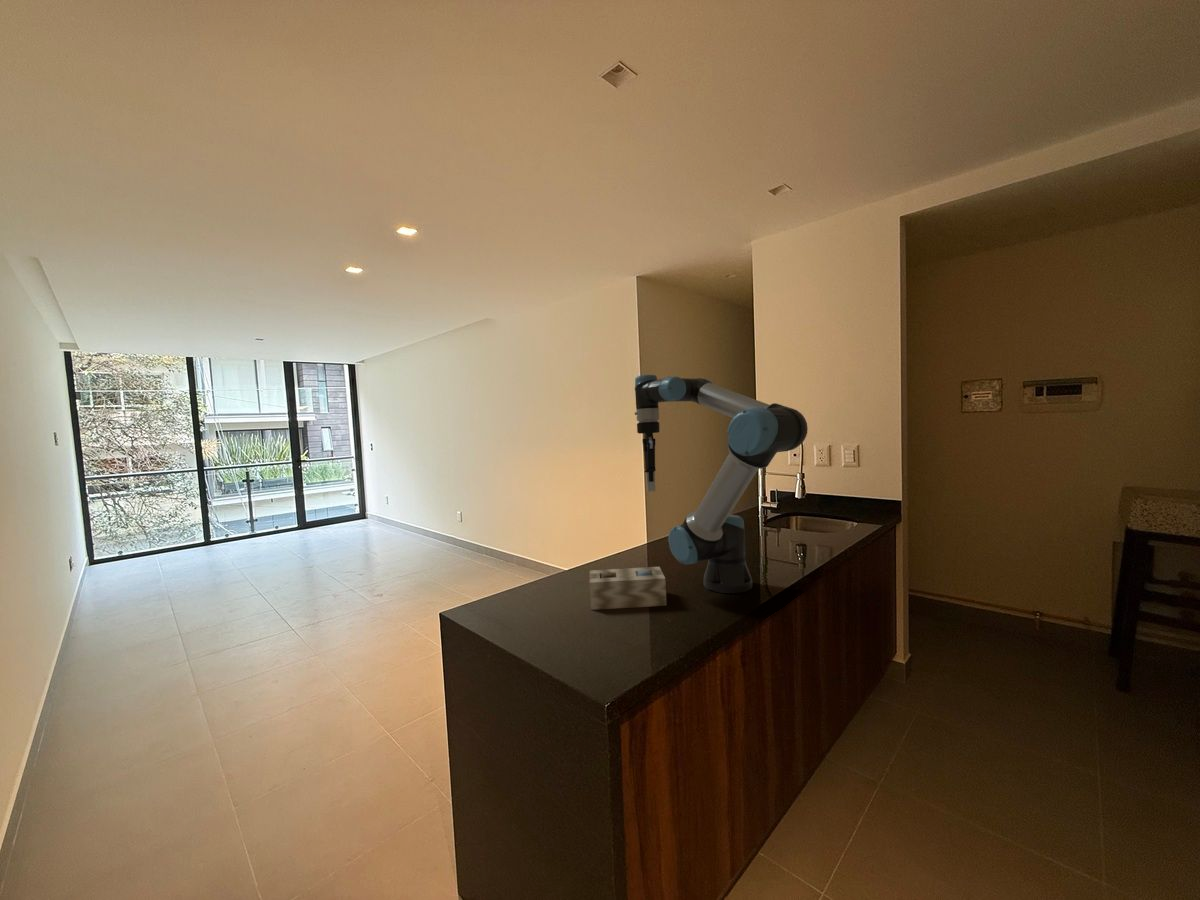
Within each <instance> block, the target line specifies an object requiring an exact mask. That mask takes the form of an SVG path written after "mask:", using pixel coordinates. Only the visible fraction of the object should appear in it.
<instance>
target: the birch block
mask: <svg viewBox="0 0 1200 900" xmlns="http://www.w3.org/2000/svg"><path fill="white" fill-rule="evenodd" d="M640 570H649V571H651V575H650V576H638V571H640ZM605 572H612V573H614V575H615V577H614V578H601V574H602V573H605ZM666 584H667V583H666V577H665V575H664V573H663V571H662V568H661V567H660V566H647V567H627V568H612V569H611V568H610V569H609V568H607V569H593V570H589V595H590V596H589V598H590V600H589V601H590V610H592V611H595V610H597V611H598V610H610V609H613V610H614V609H626V608H628V609H630V608H631V609H632V608H645V607H646V608H647V607H660V606H661V607H662V606H663V607H664V606H667V604H668V603H667V589H666V588H667V586H666Z"/></svg>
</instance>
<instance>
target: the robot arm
mask: <svg viewBox="0 0 1200 900" xmlns="http://www.w3.org/2000/svg"><path fill="white" fill-rule="evenodd" d="M634 379H635V380H634V382H635V383H634V385H635V386H634V392H635V393H634V395H635V409H636V411H635V412H634V415H635V416H636V421H637V423H636V430H637V431H636V433H637V434H639V435H640V434H644V435H643V436H644V438H642V445H643V453H644V469H645V470H644V473H645V476H646V478H645V479H646V492H656V473H655V472H656V471H657V470H656V438H654V434H658V433H660V422H659V420H660V411H659V410H660V409H659V403H667V402H670V403H671V402H672V403H673V402H693V403H696V404H698V405H700V406H703V407H706V408H708V409H711V410H713V411H714V412H715V411H716V412H717V413H719V414H722V415H724V416H727V417H729V418H732V419H731V421H730V422H729V425H728V428H727V434H728V436H727V442H728V444H727V450H728V452H729V453H728V455H727V456H726V458H725V460H724V461H723V464H722V465H721V467H720V468H719V471H718V472H717V474H716V475H715V477H714V479H713V480H712V481H711V482H712V483H711V484H710V486H709V487H708V489H707V491H706V493H705V495H704V496H703V499H702V500H701V501H700V504H699V505H698V507H697V508H696V510H695V511H691V512H689V513H688V514H687V515H686V517H685V519H684V521H683V522H682V524H681V525H675V526H673V527H672V528H671V529H670V531H669V533H668V539H667V540H668V544H669V549H670V552H671V554H672V556H673V557H674V558H675V560H677V561H678V562H679V563H681V564H683V565H695V564H697V563H701V562H704V561H707V565H706V567H705V568H706V569H705V572H704V574H703V586H704V588H705V589H707V590H709V591H712V592H716V593H721V594H739V593H745V592H748V591H750V590H752V588H753V579H752V576H751V573H750V570H749V568H748V565H747V562H746V535H745V533H746V531H745V530H746V529H745V522H744V519H743V518H742V516H739V515H736V514H731V513H732V511H733V510H734V508H735V506H736V505H737V503H739V500H740V499H741V497H742V496H743V495H744V492H745V491H746V490H747V488H748V486H749V485H750V484H751V481H752V480H753V479H754V477H755V476H756V475H757V472H758V471H759V470H760V469H766V468H767V467H769V465H770V463H771V462H772V460H773V459H774V457H775V455H777V453H782V452H789V451H792V450H794V449H797V448H798V447H800V446H801V444H803V443H804V441H805V439H806V438H807V436H808V435H807V434H808V428H809V427H808V423H807V420H806V418H805V416H804V414H802V413H801V412H800V411H799V410H797V409H795V408H792V407H789V406H785V405H782V404H781V403H780V404H778V403H776V402H775V403H771V404H768V403H766V402H763V401H760V400H757V399H754V398H752V397H750V396H747V395H743V394H741V393H737V392H735V391H732V390H730V389H727V388H724V387H721V386H719V385H716V384H714V383H713V382H712V381H711V380H710V379H707V378H702V377H701V378H700V377H698V378H685V377H684V378H682V377H679V376H667V377H664V378H658V377H657V375H656V374H642V375H641V374H640V375H637V376H636V377H635V378H634Z"/></svg>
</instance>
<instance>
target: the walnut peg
mask: <svg viewBox="0 0 1200 900" xmlns="http://www.w3.org/2000/svg"><path fill="white" fill-rule="evenodd" d="M614 577H615V575H614V573H612V572H605V573H602V574H601V578H614Z"/></svg>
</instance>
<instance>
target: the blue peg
mask: <svg viewBox="0 0 1200 900" xmlns="http://www.w3.org/2000/svg"><path fill="white" fill-rule="evenodd" d="M650 575H651V571H649V570H640V571H638V576H650Z"/></svg>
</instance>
